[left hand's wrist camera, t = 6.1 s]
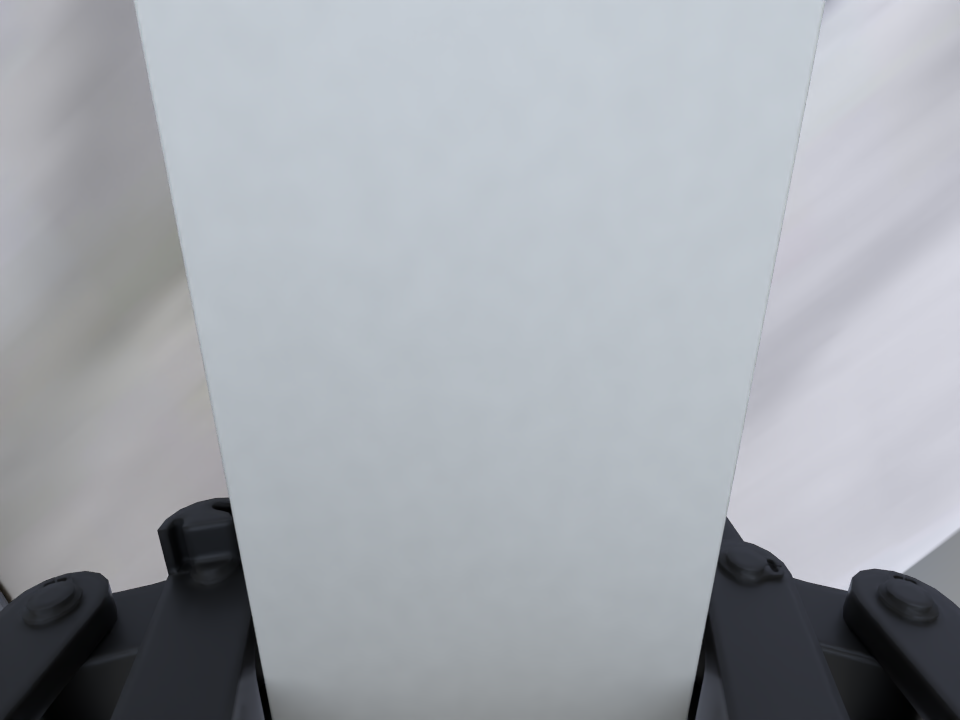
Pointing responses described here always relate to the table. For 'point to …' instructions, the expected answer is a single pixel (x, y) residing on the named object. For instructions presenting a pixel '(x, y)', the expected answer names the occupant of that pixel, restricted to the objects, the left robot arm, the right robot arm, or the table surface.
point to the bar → (479, 329)
